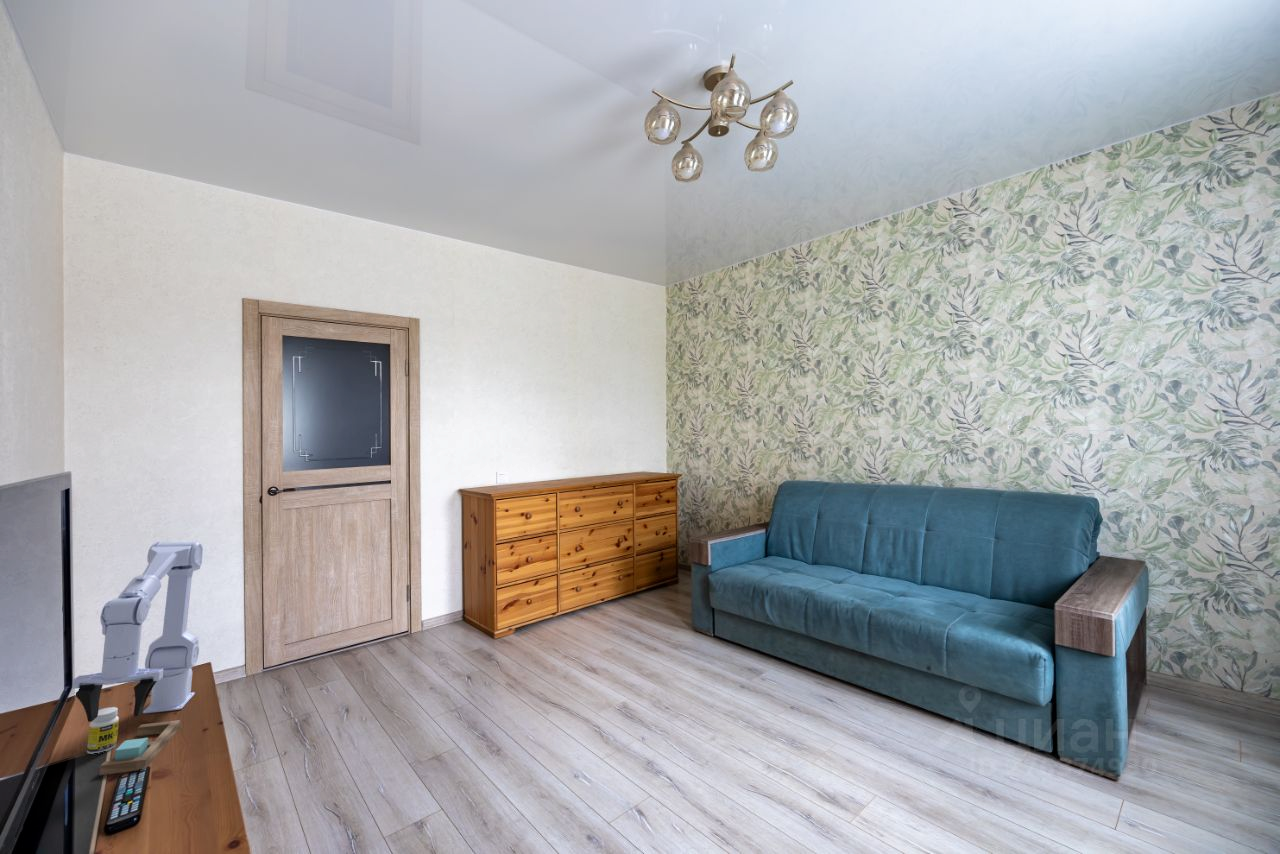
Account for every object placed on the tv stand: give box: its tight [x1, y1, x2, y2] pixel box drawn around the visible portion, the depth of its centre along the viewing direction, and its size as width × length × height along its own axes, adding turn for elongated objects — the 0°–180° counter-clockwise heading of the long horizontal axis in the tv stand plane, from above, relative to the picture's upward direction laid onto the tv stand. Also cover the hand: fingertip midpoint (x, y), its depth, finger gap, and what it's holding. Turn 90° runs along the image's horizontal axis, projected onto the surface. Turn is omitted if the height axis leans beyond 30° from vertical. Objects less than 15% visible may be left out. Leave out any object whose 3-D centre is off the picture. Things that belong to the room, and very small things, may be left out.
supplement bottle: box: [86, 706, 120, 755], centre depth 121 cm, size 5×5×8 cm
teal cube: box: [114, 737, 149, 760], centre depth 116 cm, size 4×4×4 cm
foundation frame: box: [98, 719, 181, 776], centre depth 121 cm, size 18×8×2 cm, turn 22°
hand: (115, 716), depth 115 cm, fingers open, 7 cm apart
